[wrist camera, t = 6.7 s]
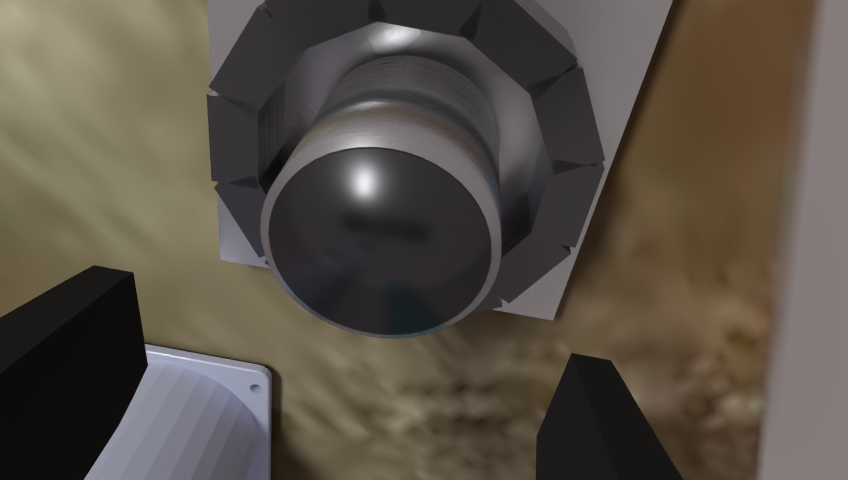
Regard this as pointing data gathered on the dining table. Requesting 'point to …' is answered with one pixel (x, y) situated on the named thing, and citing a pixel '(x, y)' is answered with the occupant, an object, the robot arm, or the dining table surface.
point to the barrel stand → (473, 58)
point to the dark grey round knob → (390, 202)
